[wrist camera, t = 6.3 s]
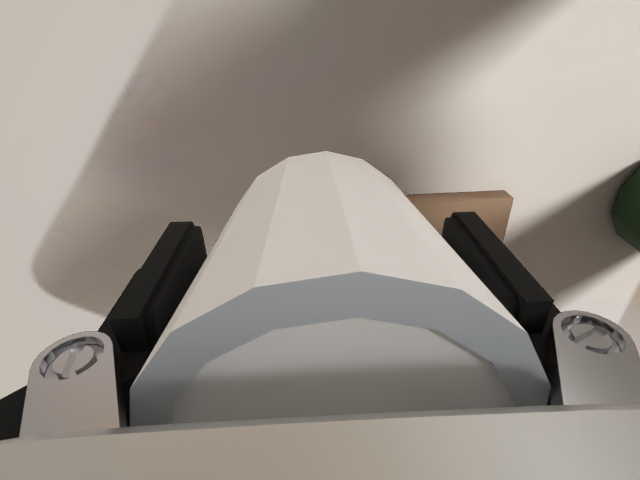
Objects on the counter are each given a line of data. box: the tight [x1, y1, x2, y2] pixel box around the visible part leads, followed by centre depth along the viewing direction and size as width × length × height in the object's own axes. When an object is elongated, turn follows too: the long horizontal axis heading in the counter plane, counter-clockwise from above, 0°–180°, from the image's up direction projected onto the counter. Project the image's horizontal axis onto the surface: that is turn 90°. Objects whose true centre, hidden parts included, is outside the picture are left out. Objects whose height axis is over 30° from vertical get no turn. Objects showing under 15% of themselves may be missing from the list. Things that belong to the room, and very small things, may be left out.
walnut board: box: [405, 190, 514, 243], centre depth 33 cm, size 18×12×2 cm, turn 2°
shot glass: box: [130, 151, 551, 427], centre depth 9 cm, size 7×7×7 cm
